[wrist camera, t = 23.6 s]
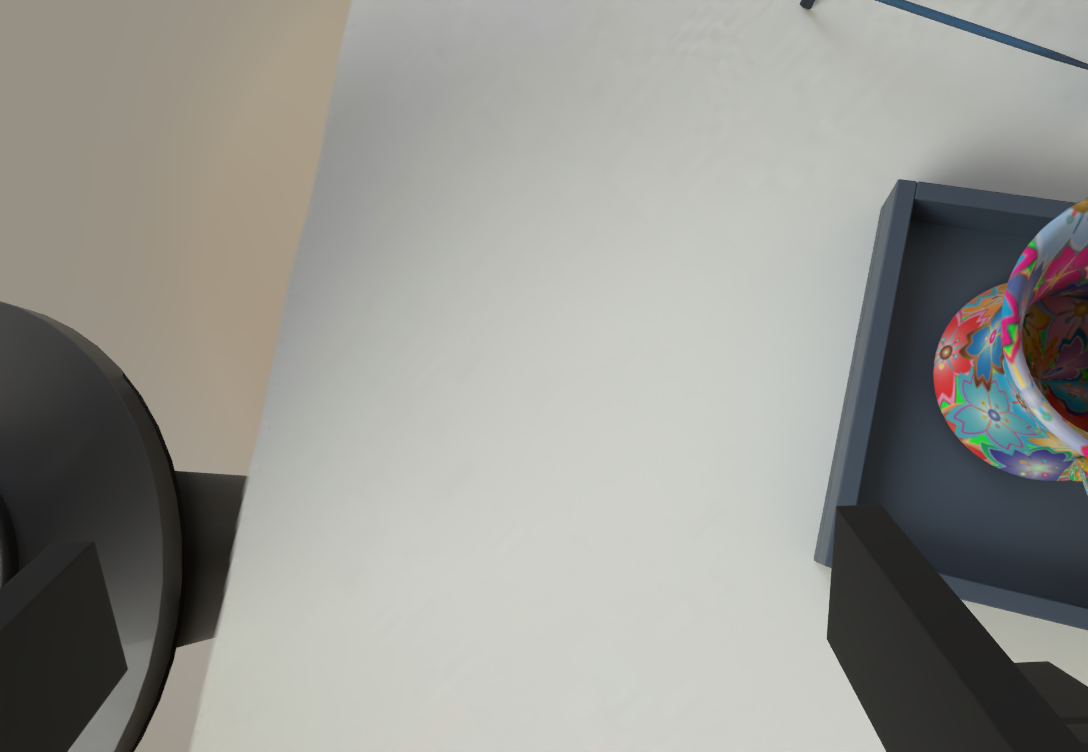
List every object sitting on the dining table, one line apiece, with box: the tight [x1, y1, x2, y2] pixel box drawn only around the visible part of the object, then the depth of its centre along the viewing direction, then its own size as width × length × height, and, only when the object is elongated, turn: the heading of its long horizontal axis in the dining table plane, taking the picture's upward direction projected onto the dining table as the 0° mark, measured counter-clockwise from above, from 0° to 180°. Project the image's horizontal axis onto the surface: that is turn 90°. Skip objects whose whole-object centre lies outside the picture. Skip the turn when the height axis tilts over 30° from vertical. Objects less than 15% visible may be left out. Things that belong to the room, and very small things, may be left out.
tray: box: [814, 179, 1088, 630], centre depth 33 cm, size 15×17×4 cm
